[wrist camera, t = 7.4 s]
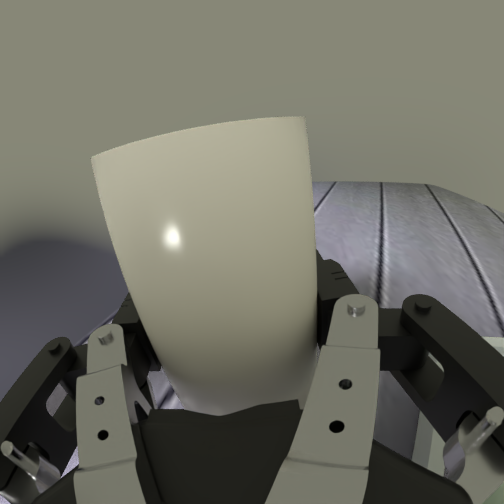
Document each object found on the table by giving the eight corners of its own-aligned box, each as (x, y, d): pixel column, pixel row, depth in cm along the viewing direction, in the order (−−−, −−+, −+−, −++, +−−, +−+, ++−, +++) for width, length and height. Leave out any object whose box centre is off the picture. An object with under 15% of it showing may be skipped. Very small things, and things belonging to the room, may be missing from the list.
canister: (188, 450, 12) (57, 171, 6) (239, 382, 16) (185, 136, 10) (287, 491, 9) (230, 117, 3) (327, 406, 13) (327, 118, 8)
